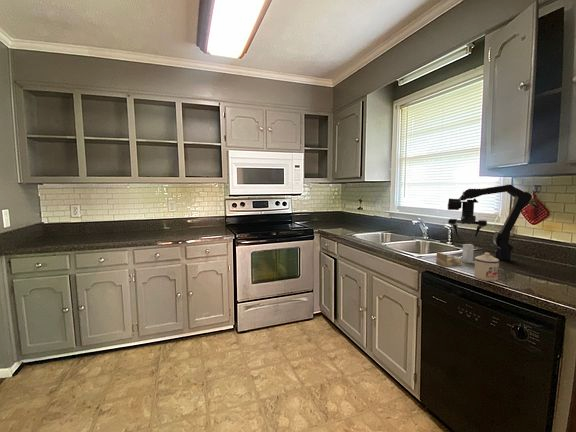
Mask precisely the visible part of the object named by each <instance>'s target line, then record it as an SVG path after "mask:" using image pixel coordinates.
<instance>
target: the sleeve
mask: <svg viewBox="0 0 576 432" xmlns="http://www.w3.org/2000/svg"><path fill="white" fill-rule="evenodd" d="M435 263H436V264H438V265H441V266H444V267H451V266H461V265H462V258H461V257H455V256H454V255H448V254H445V253H443V252H439V251H437V252H436V261H435Z"/></svg>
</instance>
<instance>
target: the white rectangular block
mask: <svg viewBox="0 0 576 432" xmlns="http://www.w3.org/2000/svg"><path fill="white" fill-rule="evenodd" d="M474 249H475V245H474V244H471V243H462V253H461V254H462V258H461V263H463V264H473V262H474Z"/></svg>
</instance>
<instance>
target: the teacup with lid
mask: <svg viewBox="0 0 576 432" xmlns="http://www.w3.org/2000/svg"><path fill="white" fill-rule="evenodd" d="M499 267H500V260H499V259H497V258H495V257H494V256H493V255H491V253H490V252H484V253H483V254H481V255H477V256H475V257H474V272H473V273H474V274H473V275H474V278H475V279H477V280H482V281H485V282H497V281H498V279H499V278H498V277H499V276H498V275H499Z"/></svg>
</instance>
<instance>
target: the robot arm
mask: <svg viewBox="0 0 576 432" xmlns="http://www.w3.org/2000/svg"><path fill="white" fill-rule="evenodd" d="M499 193H508V194H509V195H510V196H512V197H513V202H512V203H513V204H512V208H511V210H510V211H509V213H508V215H507V218H506V219H505V222H504V223H503V224H502V227H501V229H500V230H499V231H496V230H495V232H494V235H493V236H492V241H493V244H494V245H496V247H497V249H496V250H495V257H494V258H497V259H499V261H503V262H505V261H506V262H512V251H513V249H514V247H513V246H512V245H511V244H510V237H511V232H512V230H513V228H514V226H515V224H516V222H517V221H518V219H519V217H520V215H521V212H522V210H523V209H524V208H525V207H527V205H528V204H529V203H530V201H532V199H533V196H532V193H530V192H528V191H523V190H522V189H520V188H517V187H515V186H514V185H513V184H504V185H498V186H491V187H484V188H465V189H464V190H462V194H461V196H460V197H459V198H448V202H447V211H448V210H449V211H459V210H460V209H461V217H460V219H458V218H449V219H448V220H447V222H448V224H449V225H450V226H452V227H453V229H454V231H455V234H456V237H458V235H459V226H458V224H462V225H466V224H467V225H477V226H476V230H475V236H474V237H475V238H477V237H478V234H479V232H480V230H481V228H484V227H487V224H488V221H487V220H486V219H478V220H476V219H477V217H476V215H474V214H475V213H474V212H475V210H474V209H475V203H477V204H478V203H479V201H478V199H476V198H478V197H481V196H483V195H484V196H485V195H493V194H499Z"/></svg>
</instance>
